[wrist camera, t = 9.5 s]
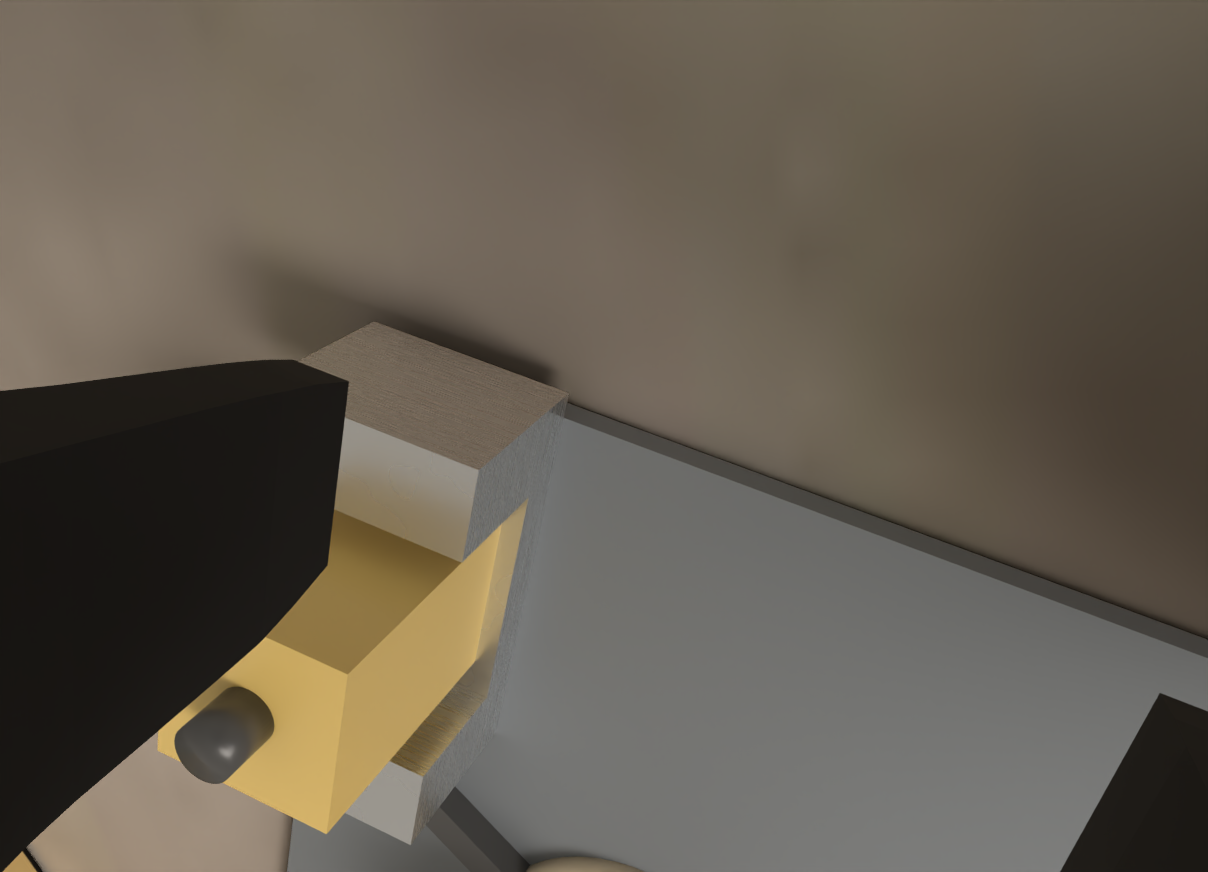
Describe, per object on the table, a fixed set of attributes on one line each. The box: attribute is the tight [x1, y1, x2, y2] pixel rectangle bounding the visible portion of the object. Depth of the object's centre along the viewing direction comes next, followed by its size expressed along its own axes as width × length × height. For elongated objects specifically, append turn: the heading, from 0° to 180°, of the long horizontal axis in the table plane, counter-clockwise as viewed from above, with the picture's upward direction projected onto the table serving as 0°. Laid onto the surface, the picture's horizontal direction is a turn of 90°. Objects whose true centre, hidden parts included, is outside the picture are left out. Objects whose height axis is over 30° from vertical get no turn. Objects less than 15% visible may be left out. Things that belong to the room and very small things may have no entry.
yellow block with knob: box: [158, 510, 502, 834], centre depth 19 cm, size 3×3×6 cm
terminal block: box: [298, 322, 569, 845], centre depth 21 cm, size 4×8×4 cm, turn 167°
